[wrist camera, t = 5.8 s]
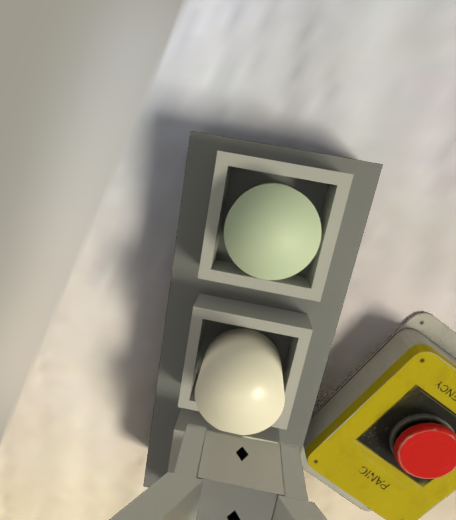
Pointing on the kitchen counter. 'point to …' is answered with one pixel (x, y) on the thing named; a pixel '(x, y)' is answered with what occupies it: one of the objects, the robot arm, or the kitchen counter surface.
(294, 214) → the pale green egg
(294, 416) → the panel
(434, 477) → the emergency button
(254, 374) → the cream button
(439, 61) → the kitchen counter surface
